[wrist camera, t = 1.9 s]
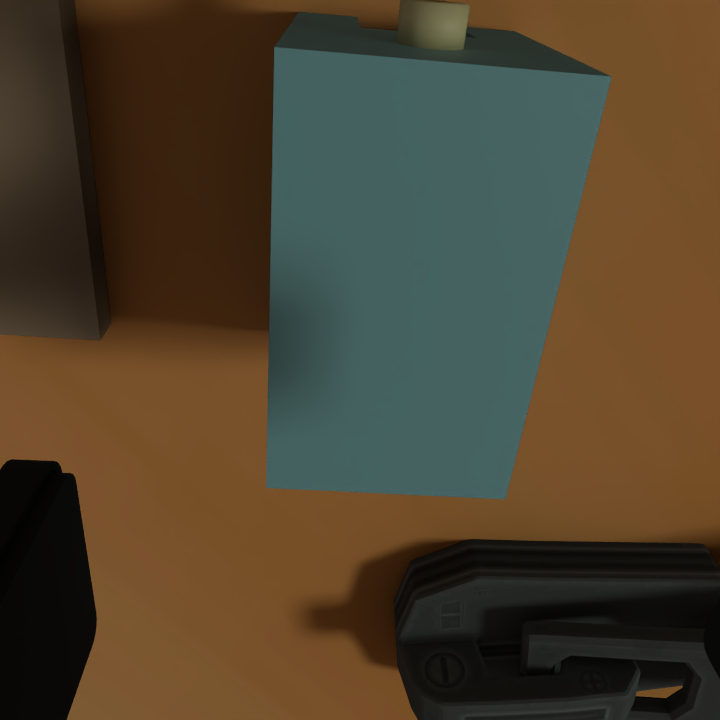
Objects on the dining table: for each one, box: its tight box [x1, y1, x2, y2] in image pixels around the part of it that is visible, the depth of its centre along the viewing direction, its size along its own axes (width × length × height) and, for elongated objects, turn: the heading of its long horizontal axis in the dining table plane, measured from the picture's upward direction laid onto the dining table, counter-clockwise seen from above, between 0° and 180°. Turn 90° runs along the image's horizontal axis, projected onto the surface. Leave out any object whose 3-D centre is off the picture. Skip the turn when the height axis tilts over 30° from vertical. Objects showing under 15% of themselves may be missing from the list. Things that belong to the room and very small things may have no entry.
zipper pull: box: [394, 539, 720, 720], centre depth 29 cm, size 9×7×25 cm
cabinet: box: [266, 0, 611, 499], centre depth 18 cm, size 11×6×8 cm, turn 175°
